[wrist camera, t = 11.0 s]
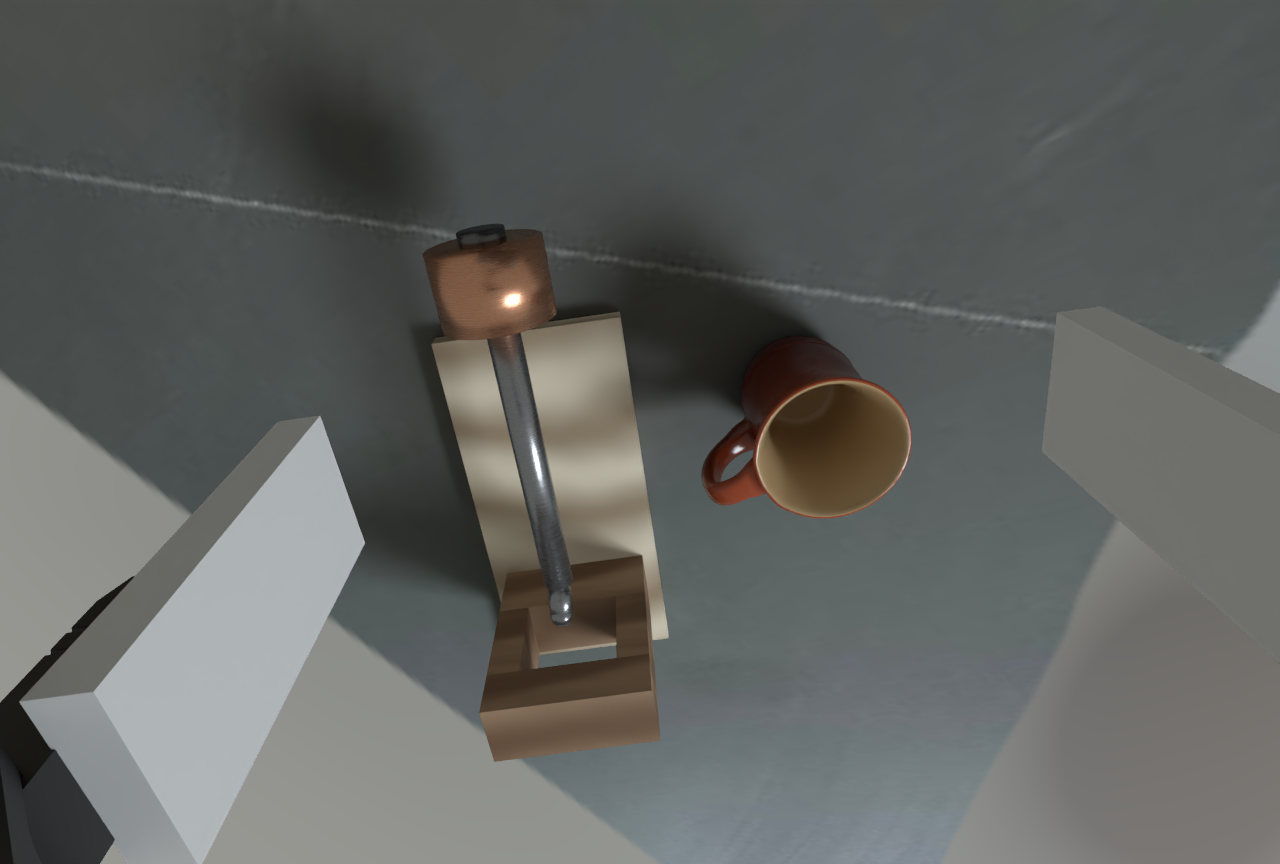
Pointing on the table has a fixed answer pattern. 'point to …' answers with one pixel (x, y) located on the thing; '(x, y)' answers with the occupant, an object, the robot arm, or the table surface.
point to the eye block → (572, 665)
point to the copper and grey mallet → (509, 363)
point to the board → (557, 449)
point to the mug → (811, 434)
